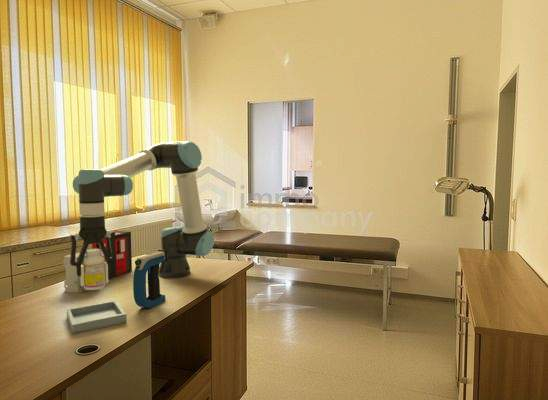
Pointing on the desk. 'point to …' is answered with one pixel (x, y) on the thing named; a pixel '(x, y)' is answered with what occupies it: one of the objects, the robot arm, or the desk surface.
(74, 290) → the circuit breaker
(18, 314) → the desk surface
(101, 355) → the desk surface
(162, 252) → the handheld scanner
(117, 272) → the cleaning product box
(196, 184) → the robot arm
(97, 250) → the supplement bottle
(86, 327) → the tray
